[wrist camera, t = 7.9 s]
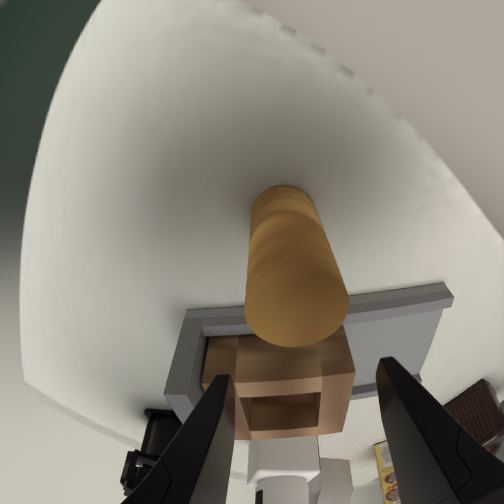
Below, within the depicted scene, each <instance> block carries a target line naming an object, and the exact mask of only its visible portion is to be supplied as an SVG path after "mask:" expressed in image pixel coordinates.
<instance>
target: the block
mask: <svg viewBox="0 0 504 504" xmlns="http://www.w3.org/2000/svg"><path fill="white" fill-rule="evenodd" d="M218 373H229V374H230V375H231V378H232V381H233V384H234V388H235V439H234V440H255V439H278V438H293V437H304V436H314V435H322V434H330V433H337V432H342V430H343V426H344V422H345V418H346V414H347V410H348V406H349V401H350V397H351V393H352V388H353V383H354V379H355V374H356V371H355V367H354V363H353V359H352V355H351V351H350V347H349V344H348V340H347V336H346V333H345V329H344V325H341V326H340V327H339V328H338V329H337V330H336V331H335V332H334V333H333V334H331V335H330V336H329V337H327V338H325V339H323V340H321V341H319V342H317V343H314V344H311V345H306V346H300V347H285V346H279V345H275V344H272V343H269V342H267V341H265V340H263V339H261V338H260V337H258V336H257V335H256V334H240V335H222V336H210V339H209V344H208V350H207V356H206V361H205V367H204V372H203V378H202V386H203V388H204V390H205V391H206V389H207V387H208V386H209V384H210V383H211V381H212V380H213V378H214V377H215V375H216V374H218Z"/></svg>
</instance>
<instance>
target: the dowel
mask: <svg viewBox="0 0 504 504" xmlns="http://www.w3.org/2000/svg"><path fill="white" fill-rule="evenodd" d="M348 310H349V297H348V294H347V291H346V288H345V285H344V282H343V279H342V277H341V274H340V271H339V268H338V266H337V263H336V260H335V258H334V255H333V252H332V250H331V247H330V244H329V242H328V239H327V237H326V234H325V232H324V229H323V227H322V224H321V222H320V219H319V217H318V214H317V212H316V209H315V207H314V204H313V202H312V200H311V199H310V197H309V196H308V195H307V194H306V193H305V192H304V191H302V190H301V189H299V188H297V187H294V186H289V185H279V186H275V187H272V188H269V189H267V190H266V191H264V192H263V193H262V194H261V195H260V196H259V197H258V198H257V199H256V201H255V203H254V205H253V209H252V218H251V231H250V244H249V257H248V270H247V283H246V296H245V310H244V312H245V318H246V321H247V323H248V326H249V327H250V329H251V330H252V331H253V332H254V333H255V334H256V335H257V336H258V337H260V338H261V339H263V340H265V341H267V342H269V343H272V344H275V345H279V346H285V347H300V346H306V345H311V344H314V343H317V342H319V341H321V340H323V339H325V338H327V337H329V336H330V335H331V334H333V333H334V332H335V331H336V330H337V329H338V328H339V327H340V326H341V325H342V323H343V322H344V320H345V318H346V316H347V313H348Z"/></svg>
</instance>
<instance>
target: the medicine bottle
mask: <svg viewBox="0 0 504 504" xmlns="http://www.w3.org/2000/svg"><path fill="white" fill-rule="evenodd" d="M320 471H321V468H320V457H319V447H318V436H317V435H314V436H304V437H293V438H278V439H255V440H250V441H249V453H248V477H247V485H248V486H252V487H256V498H255V500H256V501H255V504H310V501H309V485H308V484H307V483H308V482H309V481H310V480H311V479H313V478H314V477H315V476H316V475H318V474H319V473H320Z"/></svg>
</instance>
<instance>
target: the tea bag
mask: <svg viewBox="0 0 504 504" xmlns="http://www.w3.org/2000/svg"><path fill="white" fill-rule="evenodd" d="M320 468H321V471H320V473H319V474H318V475H316V476H315V477H314V478H313V479H311V480H310V481H309V482H308V483H307V484H308V485H309V501H310V504H349V503H350V499H351V496H352V492H353V485H352V478H351V470H350V463H349V460H339V459H328V458H320Z"/></svg>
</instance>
